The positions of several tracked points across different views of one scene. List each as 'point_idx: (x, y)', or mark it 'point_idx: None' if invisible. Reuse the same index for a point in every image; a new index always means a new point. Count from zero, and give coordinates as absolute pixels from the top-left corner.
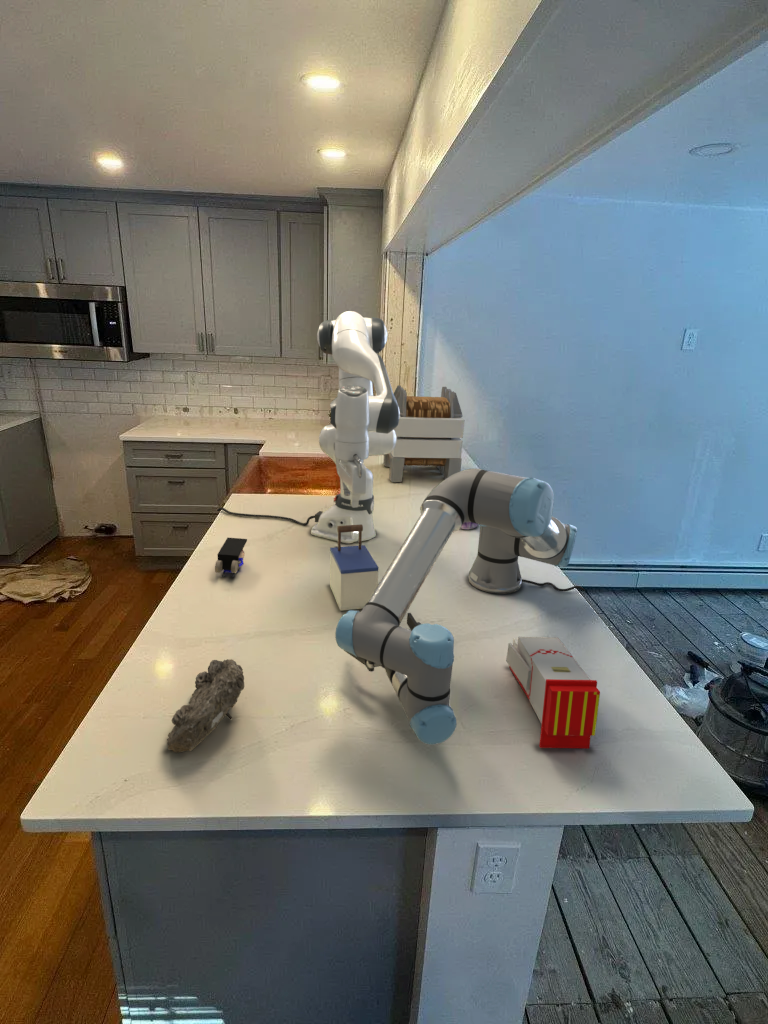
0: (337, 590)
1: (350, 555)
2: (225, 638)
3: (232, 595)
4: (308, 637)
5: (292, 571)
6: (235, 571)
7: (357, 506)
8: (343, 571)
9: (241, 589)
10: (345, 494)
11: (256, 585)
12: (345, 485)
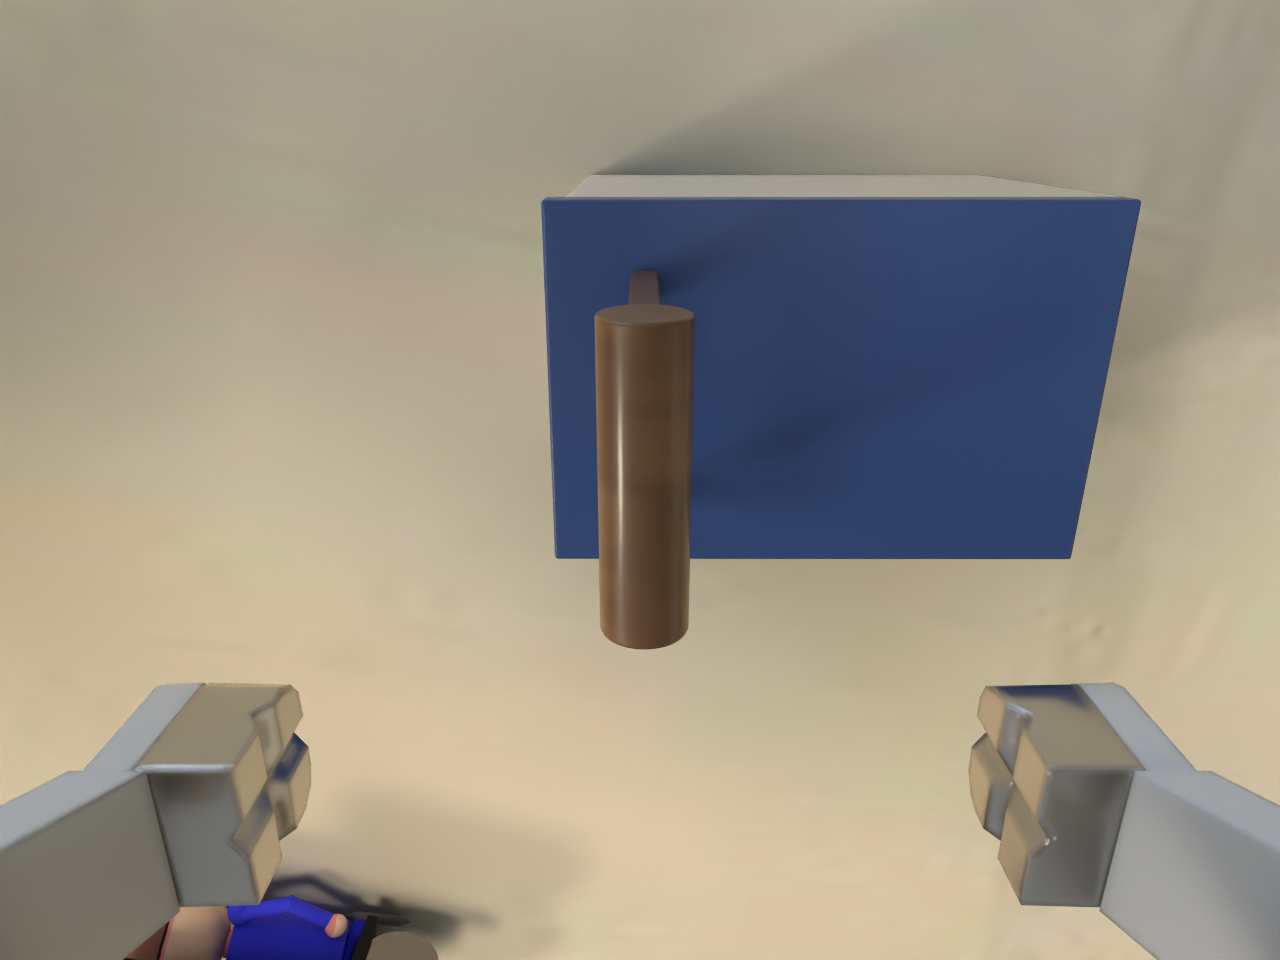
0: None
1: (783, 413)
2: (1008, 952)
3: (609, 919)
4: (1153, 640)
5: (344, 624)
6: (434, 953)
7: (1111, 696)
8: (1069, 534)
9: (549, 882)
10: (294, 790)
11: (513, 818)
12: (77, 934)
